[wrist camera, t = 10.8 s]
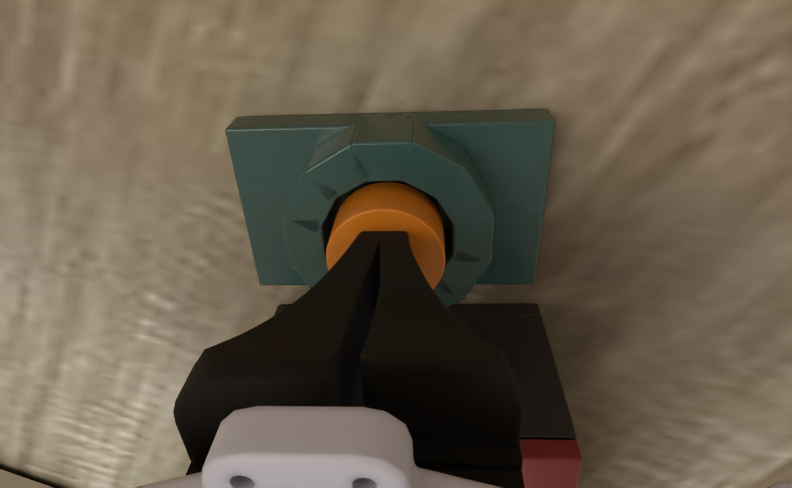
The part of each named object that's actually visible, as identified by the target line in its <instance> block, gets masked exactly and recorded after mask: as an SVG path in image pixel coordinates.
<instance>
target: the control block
mask: <svg viewBox="0 0 792 488" xmlns="http://www.w3.org/2000/svg"><path fill="white" fill-rule="evenodd" d="M554 126H555V121H554V119H553V118H552V116H551V115H550V113H549V112H548V110H547V109H528V110H489V111H450V112H411V113H372V114H334V115H295V116H256V117H237V118H235V119H234V120H233V121H232V123H231V124H230V125H229V126H228V127H227V128H226V130H225V131H226V136H227V140H228V145H229V149H230V154H231V158H232V162H233V167H234V171H235V176H236V180H237V185H238V189H239V194H240V198H241V203H242V207H243V212H244V216H245V221H246V225H247V230H248V234H249V238H250V243H251V247H252V252H253V256H254V261H255V265H256V270H257V274H258V279H259V283H260V285H308V286H309V287H310V288H312V287H313V286H314V285H315V284H316V283H317V282H318V281H319V280H320V279H321V278H322V277H323V276H324V275H325V274H326V273H327V272H328V271H329V270H328V267H327V262H326V249H327V245H328V241H329V238H330V234H331V231H332V228H333V225H334V221H335V218H336V215H337V212H338V210H339V208H340V206H341V205H342V203H343V202H344V201H345V200H346V198H347V197H349V196H350V195H351V194H352V193H353V192H355V191H357V190H358V189H360V188H362V187H364V186H367V185H370V184H374V183H380V182H394V183H401V184H404V185H408V186H410V187H413V188H415V189H417V190H418V191H420V192H422V193H423V194H424V195H426V196H427V197H428V198H429V199H430V200H431V201H432V202H433V203H434V205H435V206H436V207H437V209H438V211H439V213H440V215H441V218H442V221H443V226H444V243H445V269H444V273H443V275H442V278H441V280H440V281H439V283H438V285H437V286H436V287H435V288H434V289H433V291H434V292H435V293H436V295H437V296H438V297H439V299H440V300H441V301H442V302H443V304H444V305H445V306H446V307H449V306H451V305H453V304H456V303H458V302H460V301H461V300H463V299H464V298H465V296H466V295H467V294H468V293H469V291H470V290H471V289H472V287H473V286H474V285H475V284H534V283H535V280H536V271H537V263H538V255H539V247H540V239H541V231H542V223H543V215H544V207H545V199H546V191H547V182H548V174H549V166H550V158H551V150H552V142H553V134H554Z"/></svg>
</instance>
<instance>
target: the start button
mask: <svg viewBox="0 0 792 488" xmlns="http://www.w3.org/2000/svg"><path fill="white" fill-rule="evenodd" d="M361 231H405V232H407V233H408V234H409V242H410V246H411V249H412V252H413V254H414V257H415V259H416V261H417V263H418V265H419V267H420V269H421V271H422V273H423V275H424V276H425V278H426V280H427V281H428V283H429V285H430V286H431V288H432V289H434V288H435V287H436V286H437V285H438V283H439V281H440V280H441V278H442V275H443V273H444V269H445V243H444V226H443V221H442V218H441V215H440V213H439V211H438V209H437V207H436V206H435V205H434V203H433V202H432V201H431V200H430V199H429V198H428V197H427V196H426V195H424V194H423V193H422V192H420V191H418V190H417V189H415V188H413V187H410V186H408V185H404V184H401V183H394V182H380V183H374V184H370V185H367V186H364V187H362V188H360V189H358V190H357V191H355V192H353V193H352V194H351V195H350V196H349V197H347V198H346V200H345V201H344V202H343V203H342V205H341V206H340V208H339V210H338V212H337V215H336V218H335V221H334V225H333V228H332V231H331V234H330V238H329V241H328V245H327V249H326V262H327V267H328V270H330V269H331V268H332V267H333V266H334V264H335V263H336V262H337V261H338V260H339V259H340V257H341V256H342V255H343V254H344V253H345V251H346V250H347V249H348V247H349V246H350V245H351V243H352V242H353V241H354V239H355V238H356V237H357V235H358V234H359V233H360V232H361Z"/></svg>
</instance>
